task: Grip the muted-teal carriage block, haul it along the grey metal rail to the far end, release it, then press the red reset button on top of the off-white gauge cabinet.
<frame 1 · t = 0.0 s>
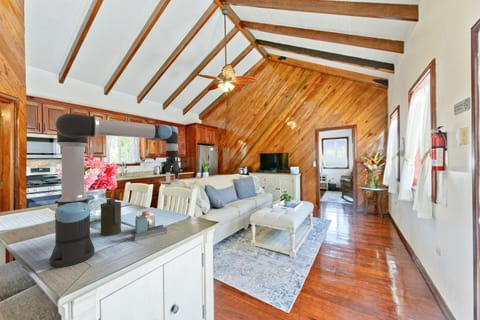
hand: (171, 183, 129), 28 cm above the countertop, fingers open, 13 cm apart
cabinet: (145, 229, 122), on the countertop
reset button: (145, 215, 122), point 9 cm above the countertop, slide at 0.0 cm
canister: (111, 233, 116), on the countertop
carriage: (141, 225, 110), point 6 cm above the countertop, slide at -4.5 cm
rail: (149, 235, 113), on the countertop
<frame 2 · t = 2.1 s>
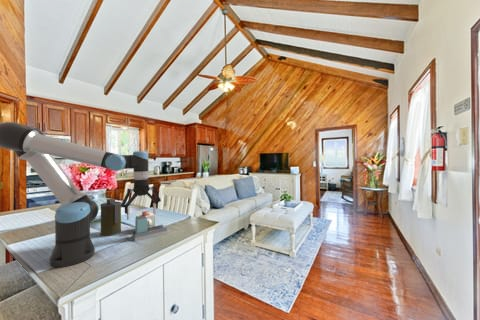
hand: (142, 216, 110), 11 cm above the countertop, fingers open, 13 cm apart
nothing on the countertop moved.
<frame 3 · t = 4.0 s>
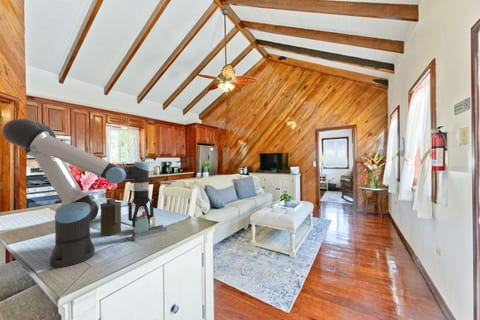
hand: (141, 231, 110), 3 cm above the countertop, fingers closed on carriage, 5 cm apart
carriage: (141, 225, 110), point 6 cm above the countertop, slide at -4.5 cm, touching gripper
everything else where it was.
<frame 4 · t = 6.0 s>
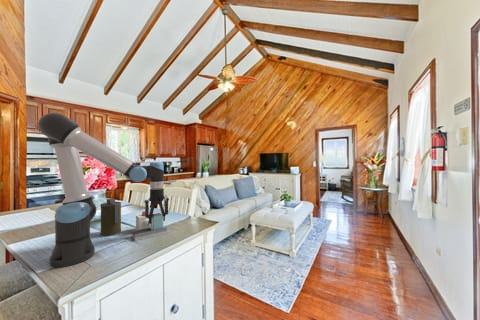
hand: (157, 227, 116), 3 cm above the countertop, fingers closed on carriage, 5 cm apart
carriage: (156, 222, 116), point 6 cm above the countertop, slide at 4.0 cm, touching gripper
everything else where it was.
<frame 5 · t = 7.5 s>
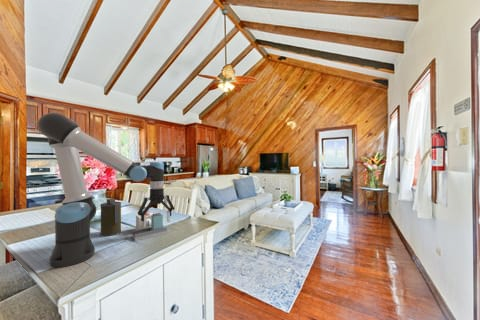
hand: (156, 224, 116), 5 cm above the countertop, fingers open, 13 cm apart
carriage: (157, 222, 116), point 6 cm above the countertop, slide at 4.0 cm
everything else where it was.
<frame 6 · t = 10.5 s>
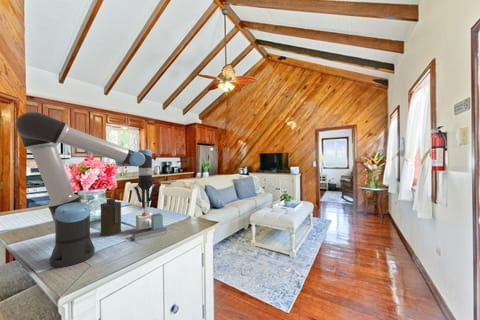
hand: (145, 212, 122), 10 cm above the countertop, fingers closed
reset button: (145, 216, 122), point 8 cm above the countertop, slide at 0.8 cm, touching gripper
everything else where it was.
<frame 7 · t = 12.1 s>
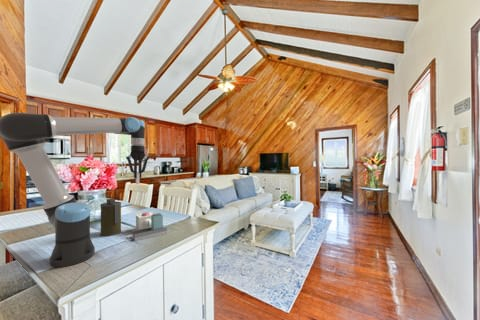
hand: (137, 183, 121), 28 cm above the countertop, fingers closed
reset button: (145, 216, 122), point 8 cm above the countertop, slide at 1.0 cm
everything else where it was.
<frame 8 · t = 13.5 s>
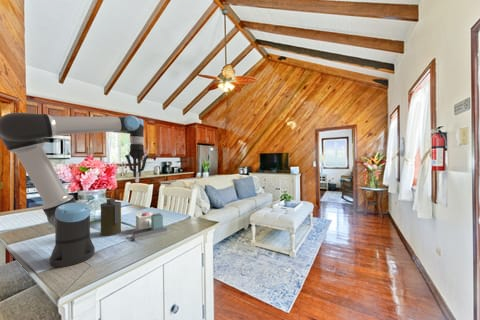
hand: (137, 182, 121), 29 cm above the countertop, fingers closed
nothing on the countertop moved.
at the end: carriage slide at 4.0 cm; reset button slide at 1.0 cm; the gripper is holding nothing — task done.
